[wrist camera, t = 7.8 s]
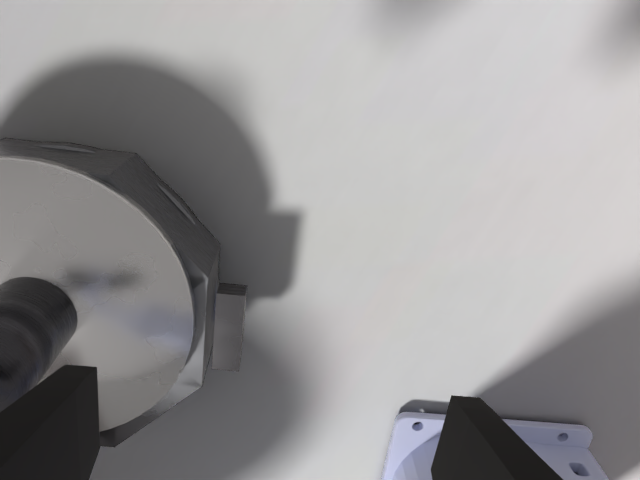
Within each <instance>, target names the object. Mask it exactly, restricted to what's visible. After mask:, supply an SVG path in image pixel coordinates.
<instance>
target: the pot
mask: <svg viewBox="0 0 640 480" xmlns="http://www.w3.org/2000/svg"><path fill="white" fill-rule="evenodd" d="M0 156H24V157H33V158H41V159H45V160H50V161H54V162H59V163H63V164H66V165H69V166H72V167H74V168H77V169H80V170H83V171H86V172H88V173H90V174H92V175H94V176H96V177H98V178H100V179H102V180H104V181H106V182H108V183H110V184H111V185H113V186H114V187H116V188H117V189H119V190H121V191H122V192H124V193H125V194H127V195H128V196H129V197H131V198H132V199H133V200H134V201H136V202H137V203H138V204H139V205H141V206H142V207H143V208H144V209H145V210H146V211H147V212H148V213H149V214H150V215H151V216H152V217H153V218H154V219H155V220H156V221H157V222H158V223H159V224H160V226H161V227H162V228H163V229H164V231H165V232H166V233H167V235H168V236H169V237H170V238H171V240H172V241H173V243H174V245H175V246H176V248H177V250H178V252H179V253H180V255H181V257H182V259H183V261H184V263H185V266H186V268H187V271H188V273H189V275H190V279H191V283H192V287H193V290H194V296H195V305H196V326H195V332H194V337H193V342H192V345H191V348H190V351H189V354H188V357H187V360H186V362H185V365H184V368H183V369H182V371H181V373H180V375H179V377H178V378H177V380H176V382H175V383H174V384H173V386H172V387H171V388H170V390H169V391H168V392H167V393H166V395H165V396H164V397H162V398H161V399H160V400H159V401H158V402H157V403H156V404H155V405H154V406H153V407H151V408H150V409H148V410H147V411H146V412H144V413H143V414H141V415H140V416H138V417H136V418H134V419H132V420H130V421H129V422H127V423H124V424H122V425H119V426H117V427H114V428H111V429H108V430H104V431H100V432H99V433H100V446H107V447H115V446H117V445H118V444H120V443H121V442H123V441H124V440H126V439H127V438H128V437H130V436H131V435H133V434H134V433H136V432H137V431H139V430H140V429H141V428H143V427H144V426H146V425H147V424H149V423H150V422H152V421H153V420H154V419H156V418H157V417H159V416H160V415H162V414H163V413H165V412H166V411H167V410H169V409H170V408H172V407H173V406H175V405H176V404H178V403H179V402H180V401H182V400H183V399H185V398H186V397H188V396H189V395H191V394H192V393H193V392H195V391H196V390H198V389H199V388H201V387H202V385H203V382H204V378H205V374H206V370H207V366H208V362H209V359H210V355H211V351H212V347H213V356H212V369H217V370H229V371H239V366H240V360H241V351H242V339H243V328H244V317H245V306H246V294H247V286H246V285H236V284H225V283H220V284H219V275H218V267H219V252H220V243H219V242H218V241H217V240H216V239H215V238H214V237H213V236H212V235H211V233H210V232H209V231H208V230H207V229H206V228H205V227H204V226H203V225H202V224H201V223H200V222H199V221H198V219H197V218H196V216H195V215H194V213H193V212H192V211H191V210H190V208H189V207H188V206H187V205H186V203H185V202H184V201H183V200H182V199H181V198H180V197H179V196H178V195H177V194H176V193H175V192H174V191H173V190H172V189H171V188H170V187H169V186H168V185H167V184H165V183H164V182H163V181H161V180H160V179H159V177H158V176H157V175H156V174H155V173H154V172H153V171H152V170H151V169H150V168H149V167H148V166H147V165H146V164H145V162H144V161H143V160H142V159H141V158H140V157H139V156H138V155H137V154H136V153H127V152H119V151H111V150H102V149H98V148H94V147H90V146H84V145H79V144H73V143H60V142H34V141H26V140H17V139H9V138H4V139H1V140H0Z"/></svg>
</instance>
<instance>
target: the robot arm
mask: <svg viewBox="0 0 640 480" xmlns="http://www.w3.org/2000/svg"><path fill="white" fill-rule="evenodd" d="M416 422H420V423H419V424H417V425H414V423H416ZM561 433H563V434H561ZM559 434H561V435H559ZM592 438H593V434H592V432H591V431H590V429H589V428H588V427H587V426H584V425H574V424H561V423H548V422H535V421H522V420H509V419H501V418H500V417H499V416H498V415H497V414H496V413H495V412H494V411H493V410H492V409H491V408H490V407H489V406H488V405H487V404H486V403H485V402H484V401H483V400H482V399H480V398H475V397H463V396H451V399H450V403H449V406H448V410H447V413H446V415H444V414H431V413H418V412H402V413H400V414H399V415H397V416H396V418H395V422H394V426H393V430H392V434H391V438H390V443H389V447H388V451H387V455H386V460H385V464H384V468H383V472H382V476H381V480H610V479H609V478H608V477H607V475H606V474H605V472H604V471H603V469H602V468H601V467H600V465H599V464H598V462H597V461H596V459H595V458H594V456H593V455H592V454H591V452H590V451H589V449H588V448H589V445H590V443H591V441H592ZM99 449H100V433H99V406H98V379H97V367H91V366H78V365H66V364H65V365H64V366H62V367H61V368H59V369H58V370H57V371H55V372H54V373H52V374H51V375H50V376H48V377H47V378H46V379H44V380H43V381H42V382H40V383H39V384H38V385H36V386H35V387H34V388H32V389H31V390H30V391H28V392H27V393H25V394H24V395H23V396H21V397H20V398H19V399H17V400H16V401H15V402H13V403H12V404H11V405H9V406H8V407H7V408H5V409H4V410H3V411H1V412H0V480H89V477H90V475H91V472H92V469H93V466H94V463H95V460H96V458H97V455H98V452H99Z"/></svg>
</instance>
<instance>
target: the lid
mask: <svg viewBox="0 0 640 480" xmlns="http://www.w3.org/2000/svg"><path fill="white" fill-rule="evenodd" d="M195 326H196V305H195V296H194V290H193V287H192V283H191V279H190V275H189V273H188V271H187V268H186V266H185V263H184V261H183V259H182V257H181V255H180V253H179V252H178V250H177V248H176V246H175V245H174V243H173V241H172V240H171V238H170V237H169V236H168V235H167V233H166V232H165V231H164V229H163V228H162V227H161V226H160V224H159V223H158V222H157V221H156V220H155V219H154V218H153V217H152V216H151V215H150V214H149V213H148V212H147V211H146V210H145V209H144V208H143V207H142V206H141V205H139V204H138V203H137V202H136V201H134V200H133V199H132V198H131V197H129V196H128V195H127V194H125V193H124V192H122V191H121V190H119V189H117V188H116V187H114V186H113V185H111V184H110V183H108V182H106V181H104V180H102V179H100V178H98V177H96V176H94V175H92V174H90V173H88V172H86V171H83V170H80V169H77V168H74V167H72V166H69V165H66V164H63V163H59V162H54V161H50V160H45V159H41V158H33V157H24V156H0V412H1V411H3V410H4V409H5V408H7V407H8V406H9V405H11V404H12V403H13V402H15V401H16V400H17V399H19V398H20V397H21V396H23V395H24V394H25V393H27V392H28V391H30V390H31V389H32V388H34V387H35V386H36V385H38V384H39V383H40V382H42V381H43V380H44V379H46V378H47V377H48V376H50V375H51V374H52V373H54V372H55V371H57V370H58V369H59V368H61V367H62V366H64V365H65V364H66V365H78V366H91V367H97V379H98V406H99V432H100V431H104V430H108V429H111V428H114V427H117V426H119V425H122V424H124V423H127V422H129V421H130V420H132V419H134V418H136V417H138V416H140V415H141V414H143V413H144V412H146V411H147V410H148V409H150V408H151V407H153V406H154V405H155V404H156V403H157V402H158V401H159V400H160V399H161V398H162V397H164V396H165V395H166V393H167V392H168V391H169V390H170V388H171V387H172V386H173V384H174V383H175V382H176V380H177V378H178V377H179V375H180V373H181V371H182V369H183V368H184V365H185V362H186V360H187V357H188V354H189V351H190V348H191V345H192V342H193V337H194V332H195Z"/></svg>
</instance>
